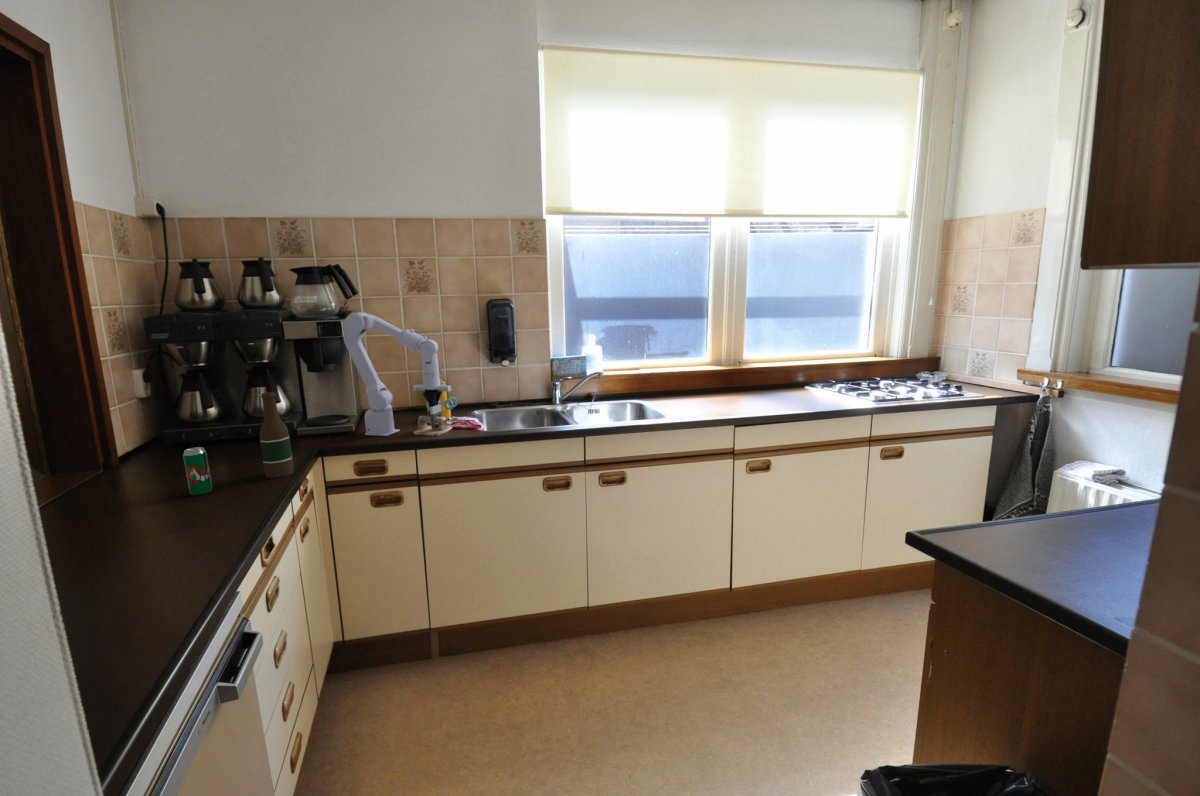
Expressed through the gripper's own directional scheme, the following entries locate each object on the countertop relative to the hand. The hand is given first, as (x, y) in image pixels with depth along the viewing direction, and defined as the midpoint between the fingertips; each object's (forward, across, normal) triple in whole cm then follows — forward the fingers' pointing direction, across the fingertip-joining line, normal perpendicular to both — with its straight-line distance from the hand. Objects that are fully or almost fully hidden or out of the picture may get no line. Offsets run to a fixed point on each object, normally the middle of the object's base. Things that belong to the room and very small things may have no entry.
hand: (434, 410), depth 213 cm
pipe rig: (+8, 0, +2) cm, 8 cm away
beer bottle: (+8, +16, +54) cm, 57 cm away
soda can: (+8, +25, +71) cm, 76 cm away
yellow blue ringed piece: (+8, +7, -16) cm, 19 cm away
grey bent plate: (+6, -2, +2) cm, 6 cm away
